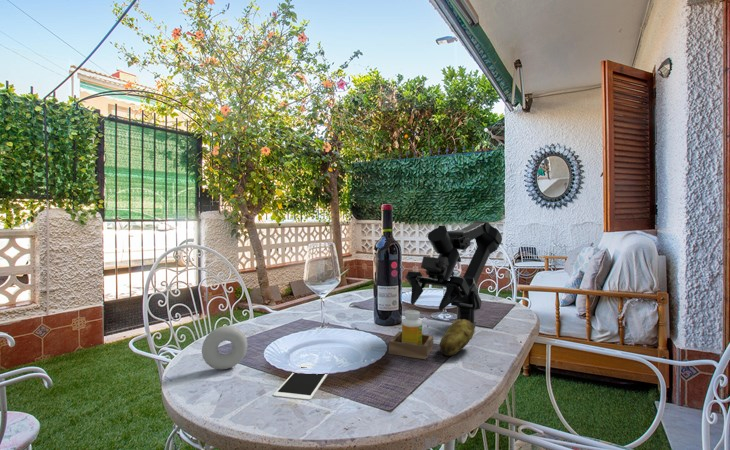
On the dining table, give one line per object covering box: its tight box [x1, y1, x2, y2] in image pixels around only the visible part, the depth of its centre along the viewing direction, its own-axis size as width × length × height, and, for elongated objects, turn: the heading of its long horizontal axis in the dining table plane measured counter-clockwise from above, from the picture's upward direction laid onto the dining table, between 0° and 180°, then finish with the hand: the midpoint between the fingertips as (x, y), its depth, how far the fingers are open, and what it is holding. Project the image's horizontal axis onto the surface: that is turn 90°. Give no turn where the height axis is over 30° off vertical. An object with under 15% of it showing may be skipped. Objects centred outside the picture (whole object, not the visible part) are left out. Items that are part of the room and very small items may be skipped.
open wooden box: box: [388, 330, 434, 360], centre depth 99 cm, size 10×10×3 cm
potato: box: [439, 319, 476, 357], centre depth 99 cm, size 8×13×8 cm, turn 121°
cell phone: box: [272, 363, 329, 401], centre depth 80 cm, size 8×16×1 cm, turn 169°
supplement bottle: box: [401, 309, 423, 345], centre depth 99 cm, size 5×5×10 cm
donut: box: [201, 325, 249, 370], centre depth 85 cm, size 10×4×10 cm, turn 118°
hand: (425, 306), depth 104 cm, fingers open, 9 cm apart
